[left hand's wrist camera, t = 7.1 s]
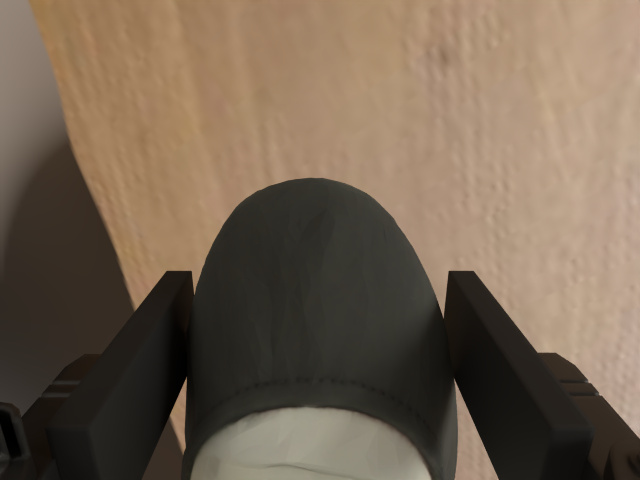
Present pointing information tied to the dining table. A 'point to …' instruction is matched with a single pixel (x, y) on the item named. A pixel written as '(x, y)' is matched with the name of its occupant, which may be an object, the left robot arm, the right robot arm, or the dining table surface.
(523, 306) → the dining table surface
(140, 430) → the left robot arm
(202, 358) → the ballet flat
